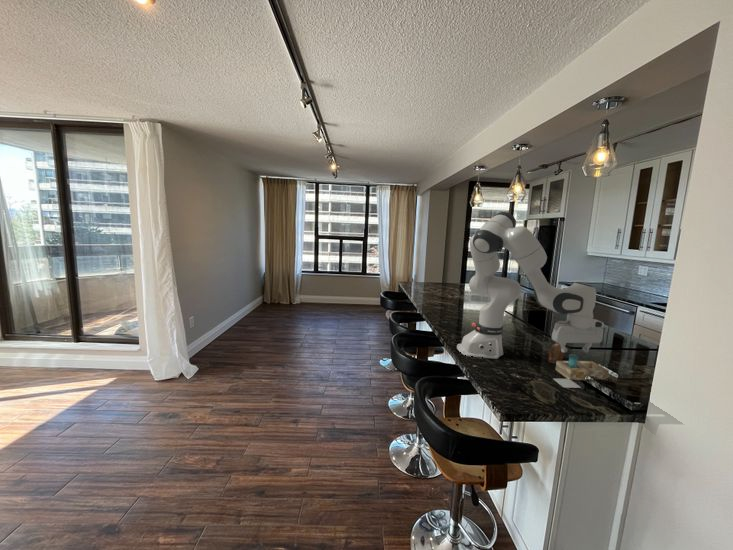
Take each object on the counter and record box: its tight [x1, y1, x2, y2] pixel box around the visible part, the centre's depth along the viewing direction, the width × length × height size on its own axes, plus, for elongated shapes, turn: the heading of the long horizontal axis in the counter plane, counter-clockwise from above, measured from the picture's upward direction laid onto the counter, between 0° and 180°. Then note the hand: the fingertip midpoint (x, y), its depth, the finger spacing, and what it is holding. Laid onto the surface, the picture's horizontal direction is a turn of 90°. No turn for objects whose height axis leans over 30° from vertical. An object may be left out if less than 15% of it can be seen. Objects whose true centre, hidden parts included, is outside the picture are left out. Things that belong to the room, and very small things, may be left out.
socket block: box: [555, 360, 610, 381], centre depth 128 cm, size 16×9×5 cm, turn 91°
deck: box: [553, 378, 582, 389], centre depth 121 cm, size 7×7×1 cm
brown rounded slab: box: [547, 342, 565, 365], centre depth 143 cm, size 15×3×8 cm, turn 130°
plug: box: [568, 353, 580, 368], centre depth 127 cm, size 3×3×8 cm
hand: (574, 352), depth 128 cm, fingers open, 8 cm apart
